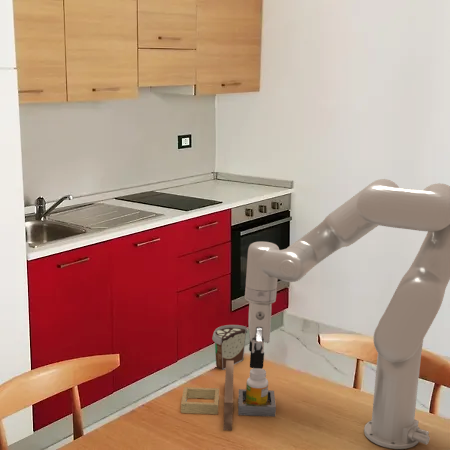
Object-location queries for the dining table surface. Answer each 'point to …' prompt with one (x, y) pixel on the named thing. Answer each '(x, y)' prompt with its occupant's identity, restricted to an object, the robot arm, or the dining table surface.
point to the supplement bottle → (257, 387)
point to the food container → (229, 344)
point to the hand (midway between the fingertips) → (255, 359)
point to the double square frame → (213, 407)
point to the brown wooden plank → (228, 395)
